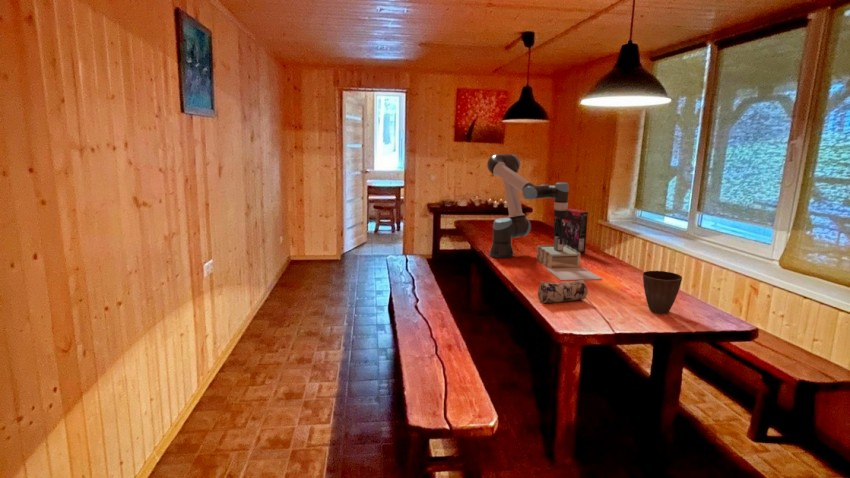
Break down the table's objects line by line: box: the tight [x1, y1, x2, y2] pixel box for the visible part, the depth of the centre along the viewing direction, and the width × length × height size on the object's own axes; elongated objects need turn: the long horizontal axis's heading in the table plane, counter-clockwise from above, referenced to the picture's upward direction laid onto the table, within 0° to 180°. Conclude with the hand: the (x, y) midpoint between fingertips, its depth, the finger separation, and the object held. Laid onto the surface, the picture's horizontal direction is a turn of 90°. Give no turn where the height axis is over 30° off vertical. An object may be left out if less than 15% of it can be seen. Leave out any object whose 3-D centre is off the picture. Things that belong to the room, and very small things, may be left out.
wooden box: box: [536, 244, 582, 269], centre depth 283 cm, size 22×18×9 cm
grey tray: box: [546, 267, 603, 282], centre depth 261 cm, size 22×22×1 cm
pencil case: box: [537, 280, 589, 304], centre depth 217 cm, size 22×8×10 cm, turn 104°
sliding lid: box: [542, 235, 578, 257], centre depth 281 cm, size 20×16×9 cm
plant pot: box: [642, 270, 683, 315], centre depth 203 cm, size 15×15×16 cm
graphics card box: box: [563, 208, 589, 254], centre depth 313 cm, size 17×7×27 cm, turn 25°
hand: (558, 248), depth 282 cm, fingers closed on sliding lid, 4 cm apart
